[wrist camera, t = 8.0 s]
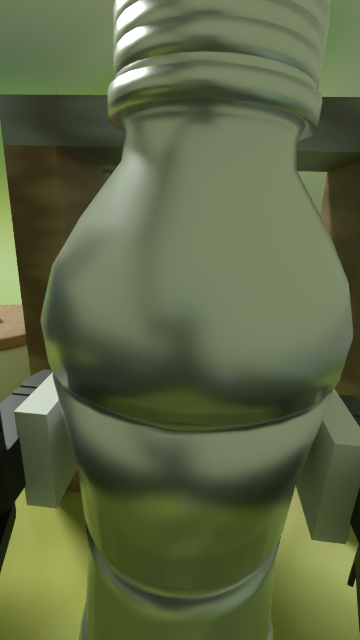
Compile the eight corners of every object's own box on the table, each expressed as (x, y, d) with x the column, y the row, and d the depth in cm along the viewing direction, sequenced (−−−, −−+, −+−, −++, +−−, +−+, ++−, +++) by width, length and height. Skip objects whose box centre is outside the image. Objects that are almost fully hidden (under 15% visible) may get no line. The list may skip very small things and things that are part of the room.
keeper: (306, 424, 35) (356, 145, 26) (348, 520, 24) (456, 97, 16) (94, 405, 37) (80, 140, 28) (43, 486, 26) (-3, 94, 17)
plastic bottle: (301, 710, 12) (514, 14, 5) (134, 946, 8) (163, -596, 1) (190, 559, 17) (230, 100, 10) (52, 659, 13) (-25, 17, 6)
